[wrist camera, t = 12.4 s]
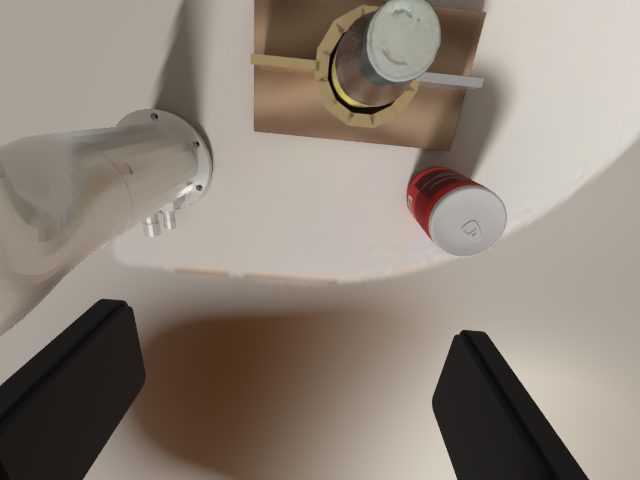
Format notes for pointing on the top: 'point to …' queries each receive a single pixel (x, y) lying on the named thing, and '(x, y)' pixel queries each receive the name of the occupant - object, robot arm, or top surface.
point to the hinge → (324, 88)
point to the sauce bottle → (385, 52)
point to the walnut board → (301, 91)
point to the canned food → (456, 212)
